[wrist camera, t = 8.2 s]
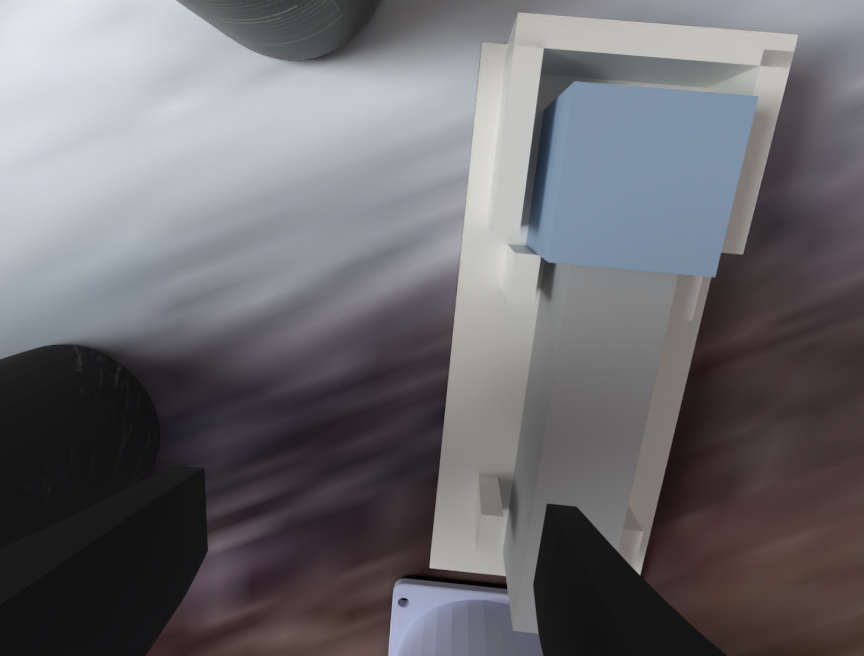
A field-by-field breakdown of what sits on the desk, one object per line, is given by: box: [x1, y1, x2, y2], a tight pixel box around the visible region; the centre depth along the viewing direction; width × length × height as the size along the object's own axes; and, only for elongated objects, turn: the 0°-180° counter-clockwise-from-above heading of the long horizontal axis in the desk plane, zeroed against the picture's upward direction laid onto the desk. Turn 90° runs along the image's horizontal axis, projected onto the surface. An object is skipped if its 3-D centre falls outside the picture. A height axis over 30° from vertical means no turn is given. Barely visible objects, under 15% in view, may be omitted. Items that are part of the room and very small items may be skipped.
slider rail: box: [430, 12, 798, 576], centre depth 18 cm, size 21×9×4 cm, turn 175°
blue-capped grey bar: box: [503, 81, 758, 634], centre depth 17 cm, size 18×4×4 cm, turn 175°
